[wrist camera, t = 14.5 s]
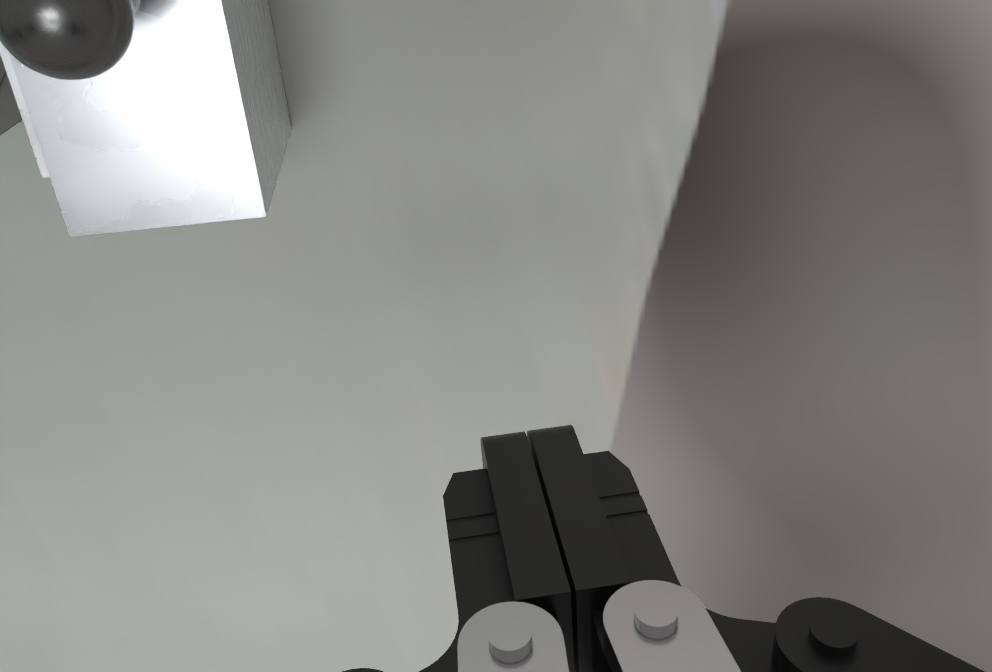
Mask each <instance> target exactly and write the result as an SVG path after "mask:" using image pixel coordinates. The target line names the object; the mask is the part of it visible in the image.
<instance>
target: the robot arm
mask: <svg viewBox="0 0 992 672" xmlns="http://www.w3.org/2000/svg"><path fill="white" fill-rule="evenodd" d="M481 450H482V461H483V469H479V470H472V471H465V472H458V473H453V475H452V477H451V480H450V482H449V484H448V486H447V488H446V491H445V493H444V495H443V499H444V507H445V514H446V522H447V530H448V538H449V545H450V553H451V561H452V569H453V576H454V584H455V592H456V599H457V607H458V615H459V624H458V630H457V633H456V636H455V639H454V640H453V642H452V644H451V646H450V647H449V648H448V650H447V651H446V652H445V653H444V654H443V655H442V656H441V657H440V658H439V659H438V660H437V661H436V662H434V663H433V664H431V665H430V666H428V667H427V668H425V669H423V670H421V671H419V672H984V671H982V670H980V669H978V668H976V667H974V666H972V665H970V664H968V663H966V662H964V661H962V660H961V659H958V658H957V657H954V656H953V655H951V654H949V653H946V652H945V651H943V650H941V649H939V648H937V647H935V646H933V645H931V644H929V643H927V642H925V641H923V640H921V639H919V638H917V637H915V636H913V635H911V634H909V633H907V632H905V631H903V630H901V629H899V628H897V627H896V626H894V625H892V624H890V623H888V622H886V621H884V620H882V619H880V618H878V617H876V616H874V615H872V614H870V613H868V612H866V611H864V610H862V609H860V608H858V607H856V606H854V605H852V604H849V603H847V602H843V601H840V600H836V599H831V598H821V597H820V598H819V597H817V598H807V599H803V600H799V601H797V602H794V603H792V604H791V605H789V606H787V607H786V608H785V609H784V610H783V611H782V612H781V614H780V615H779V617H778V619H777V622H776V623H770V622H760V621H752V620H743V619H736V618H730V617H727V616H723V615H720V614H717V613H715V612H712V611H710V610H708V609H706V608H705V607H704V605H703V604H702V602H701V601H700V600H699V599H698V598H697V597H696V596H695V595H694V594H692V593H691V592H690V591H688V590H686V589H685V588H683V587H681V585H680V583H679V581H678V579H677V577H676V574H675V572H674V570H673V567H672V565H671V563H670V561H669V558H668V556H667V554H666V551H665V549H664V547H663V545H662V543H661V540H660V538H659V535H658V533H657V531H656V529H655V526H654V524H653V522H652V519H651V518H650V515H649V514H648V513H647V508H646V506H645V503H644V501H643V499H642V497H641V496H640V494H639V490H638V488H637V486H636V483H635V481H634V478H633V476H632V474H631V472H630V469H629V468H628V467H627V466H625V465H624V464H623V463H622V462H621V461H619V460H618V459H617V458H616V457H615V456H614V455H612V454H611V453H610V452H609V451H604V452H597V453H590V454H583V452H582V449H581V447H580V444H579V441H578V439H577V436H576V433H575V431H574V428H573V426H572V425H567V426H560V427H552V428H545V429H538V430H531V431H528V432H527V436H526V433H525V432H518V433H511V434H503V435H496V436H489V437H482V438H481ZM343 672H383V671H380V670H375V669H370V668H358V669H351V670H347V671H343Z"/></svg>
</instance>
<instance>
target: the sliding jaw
mask: <svg viewBox="0 0 992 672" xmlns="http://www.w3.org/2000/svg"><path fill="white" fill-rule="evenodd" d="M0 55H1V58H2V61H3V64H4V66H5V69H6V72H7V75H8V78H9V81H10V84H11V87H12V90H13V93H14V96H15V99H16V102H17V105H18V108H19V111H20V114H21V117H22V119H23V122H24V125H25V128H26V131H27V134H28V137H29V140H30V143H31V146H32V149H33V152H34V155H35V158H36V161H37V164H38V167H39V170H40V173H41V175H42V178H46V177H50V179H51V182H52V185H53V188H54V191H55V194H56V197H57V200H58V203H59V206H60V209H61V212H62V215H63V218H64V221H65V224H66V227H67V230H68V233H69V236H70V237H73V236H82V235H92V234H102V233H112V232H121V231H131V230H141V229H150V228H160V227H170V226H180V225H189V224H199V223H209V222H219V221H228V220H238V219H248V218H257V217H266V216H267V212H268V209H269V205H270V202H271V198H272V195H273V192H274V188H275V185H276V181H277V178H278V174H279V171H280V168H281V164H282V161H283V157H284V154H285V150H286V147H287V143H288V140H289V137H290V133H291V130H292V128H291V122H290V117H289V111H288V106H287V100H286V95H285V89H284V84H283V79H282V73H281V68H280V62H279V57H278V51H277V46H276V40H275V35H274V30H273V24H272V19H271V13H270V8H269V2H268V0H0Z"/></svg>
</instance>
